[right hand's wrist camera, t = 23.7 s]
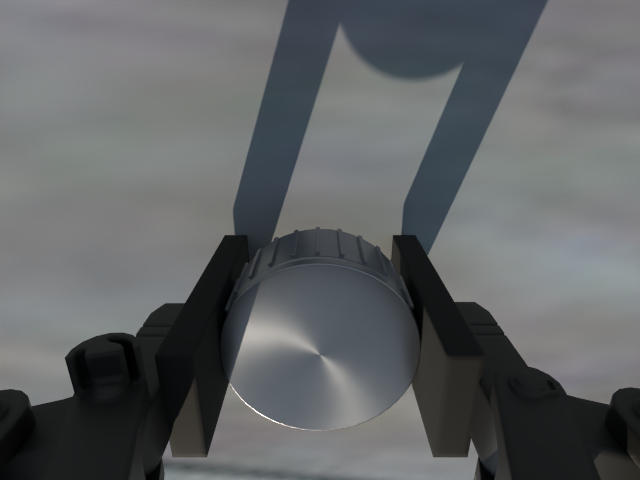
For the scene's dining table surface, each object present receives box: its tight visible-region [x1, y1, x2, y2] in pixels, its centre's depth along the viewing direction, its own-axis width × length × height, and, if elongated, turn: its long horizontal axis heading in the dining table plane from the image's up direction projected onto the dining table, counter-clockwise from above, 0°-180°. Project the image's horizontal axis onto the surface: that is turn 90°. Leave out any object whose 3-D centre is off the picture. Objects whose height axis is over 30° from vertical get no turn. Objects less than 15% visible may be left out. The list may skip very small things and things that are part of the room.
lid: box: [219, 227, 421, 431], centre depth 11 cm, size 5×5×2 cm
